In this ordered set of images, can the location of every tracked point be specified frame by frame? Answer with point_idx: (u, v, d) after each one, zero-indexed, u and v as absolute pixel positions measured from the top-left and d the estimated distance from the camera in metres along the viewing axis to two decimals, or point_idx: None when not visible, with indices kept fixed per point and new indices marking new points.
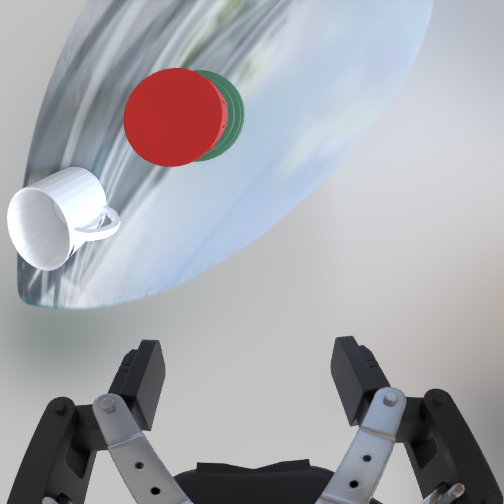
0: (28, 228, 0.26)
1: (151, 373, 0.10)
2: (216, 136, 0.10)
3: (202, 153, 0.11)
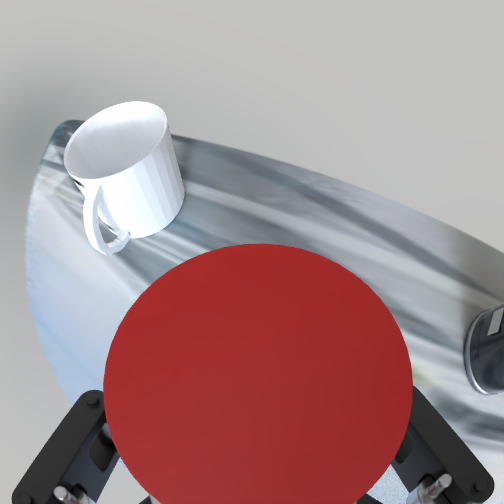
0: (122, 131, 0.24)
1: None
2: None
3: (149, 491, 0.02)
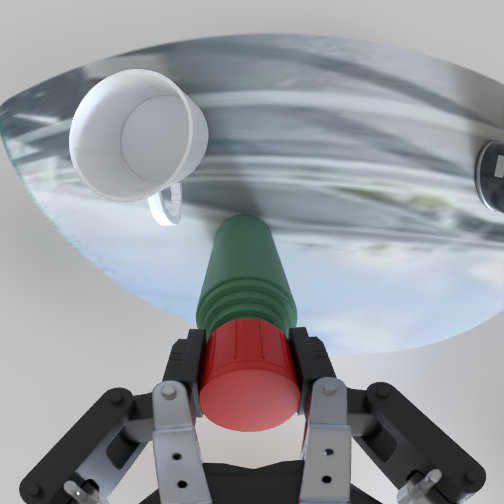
0: (107, 101, 0.18)
1: (202, 360, 0.11)
2: (253, 431, 0.11)
3: None
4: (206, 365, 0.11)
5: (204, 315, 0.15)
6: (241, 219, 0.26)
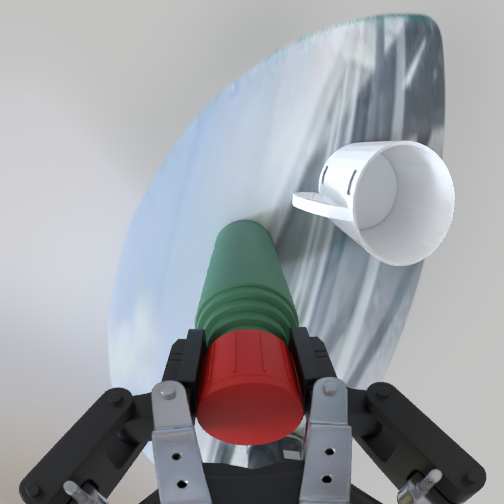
0: (426, 172, 0.20)
1: (201, 360, 0.11)
2: (253, 444, 0.10)
3: (233, 443, 0.10)
4: (204, 378, 0.10)
5: (270, 302, 0.14)
6: None
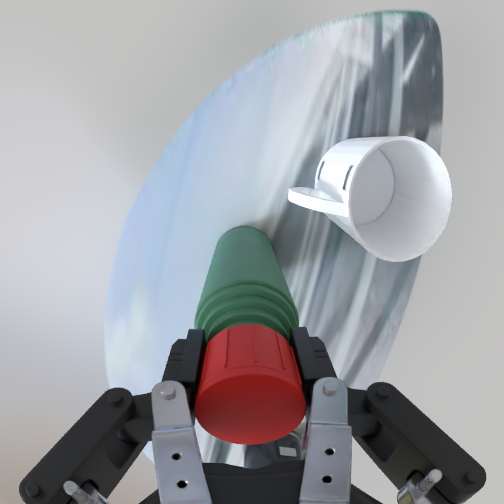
0: (423, 168, 0.20)
1: (201, 360, 0.11)
2: (304, 403, 0.09)
3: (302, 418, 0.09)
4: None
5: (270, 298, 0.14)
6: None
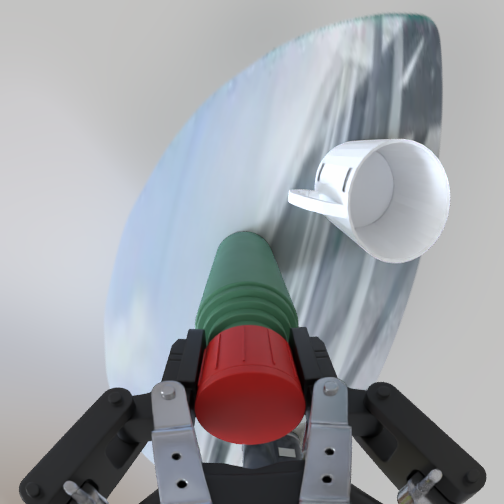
0: (422, 171, 0.21)
1: (201, 360, 0.11)
2: (225, 377, 0.09)
3: (251, 373, 0.09)
4: None
5: (270, 300, 0.14)
6: None
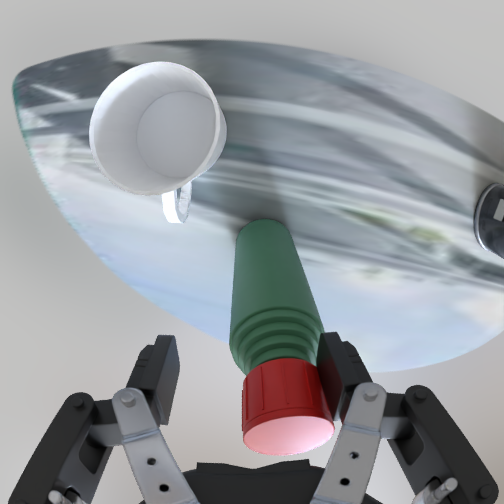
0: (133, 89, 0.18)
1: (168, 368, 0.11)
2: (248, 447, 0.11)
3: (244, 440, 0.11)
4: (301, 393, 0.11)
5: (241, 338, 0.15)
6: (268, 225, 0.26)
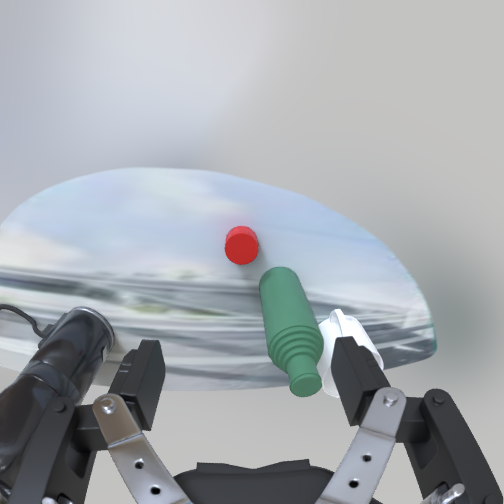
0: None
1: (151, 373, 0.10)
2: (226, 255, 0.35)
3: (225, 248, 0.35)
4: (245, 230, 0.35)
5: None
6: None
